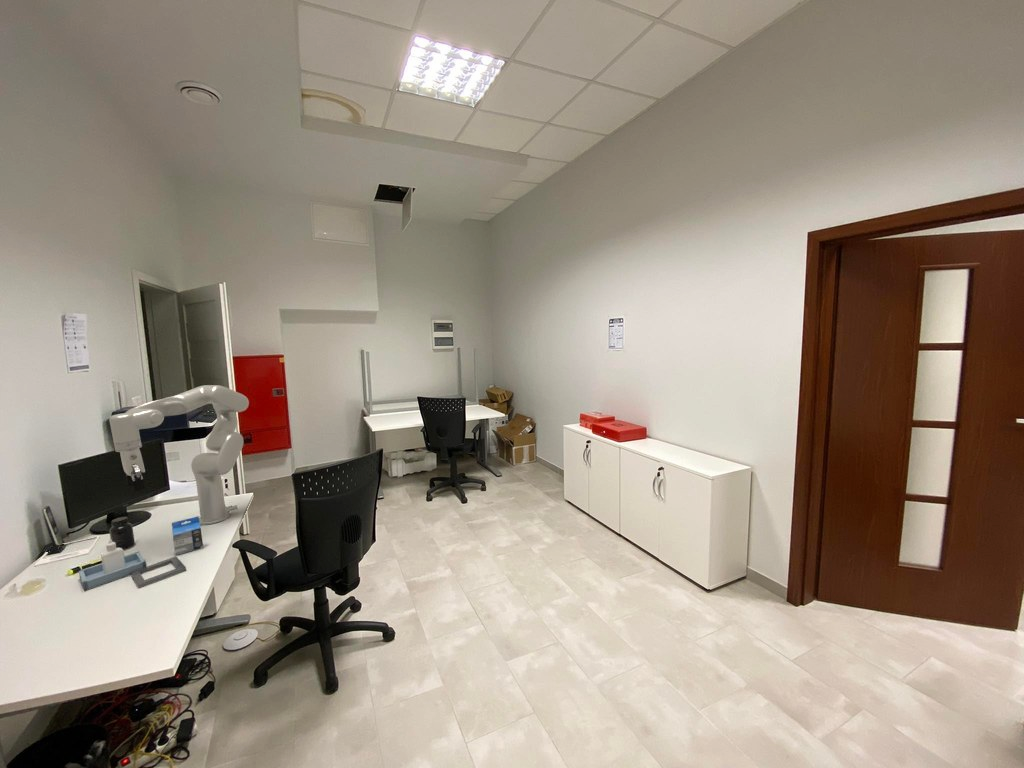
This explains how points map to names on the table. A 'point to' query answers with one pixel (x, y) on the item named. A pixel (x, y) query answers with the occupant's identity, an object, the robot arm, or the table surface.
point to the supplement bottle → (122, 533)
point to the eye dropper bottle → (112, 558)
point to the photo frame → (67, 555)
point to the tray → (97, 577)
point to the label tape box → (187, 535)
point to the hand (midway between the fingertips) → (136, 487)
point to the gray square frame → (141, 582)
